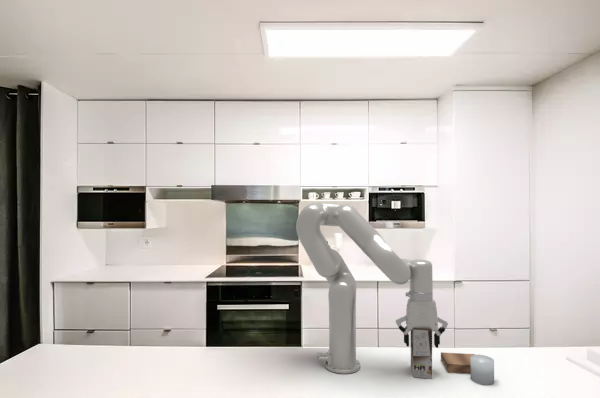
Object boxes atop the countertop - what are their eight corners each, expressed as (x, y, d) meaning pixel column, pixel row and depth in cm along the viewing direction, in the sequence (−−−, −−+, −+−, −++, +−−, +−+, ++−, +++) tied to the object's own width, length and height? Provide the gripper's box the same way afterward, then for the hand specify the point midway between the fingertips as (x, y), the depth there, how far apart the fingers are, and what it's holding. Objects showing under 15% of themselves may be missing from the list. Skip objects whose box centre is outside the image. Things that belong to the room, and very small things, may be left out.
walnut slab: (447, 372, 130) (447, 363, 130) (440, 360, 140) (440, 352, 140) (484, 374, 129) (484, 365, 129) (474, 362, 138) (474, 354, 139)
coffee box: (432, 379, 125) (432, 330, 125) (412, 377, 127) (412, 329, 127) (429, 367, 134) (429, 322, 134) (410, 365, 136) (410, 320, 136)
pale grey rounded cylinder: (474, 384, 122) (474, 362, 122) (467, 374, 129) (467, 354, 129) (497, 385, 121) (497, 364, 121) (489, 375, 128) (489, 355, 128)
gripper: (396, 298, 128) (397, 348, 128) (450, 299, 126) (450, 351, 126) (394, 292, 135) (394, 340, 135) (444, 294, 133) (445, 342, 133)
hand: (421, 345), depth 130 cm, fingers open, 9 cm apart
